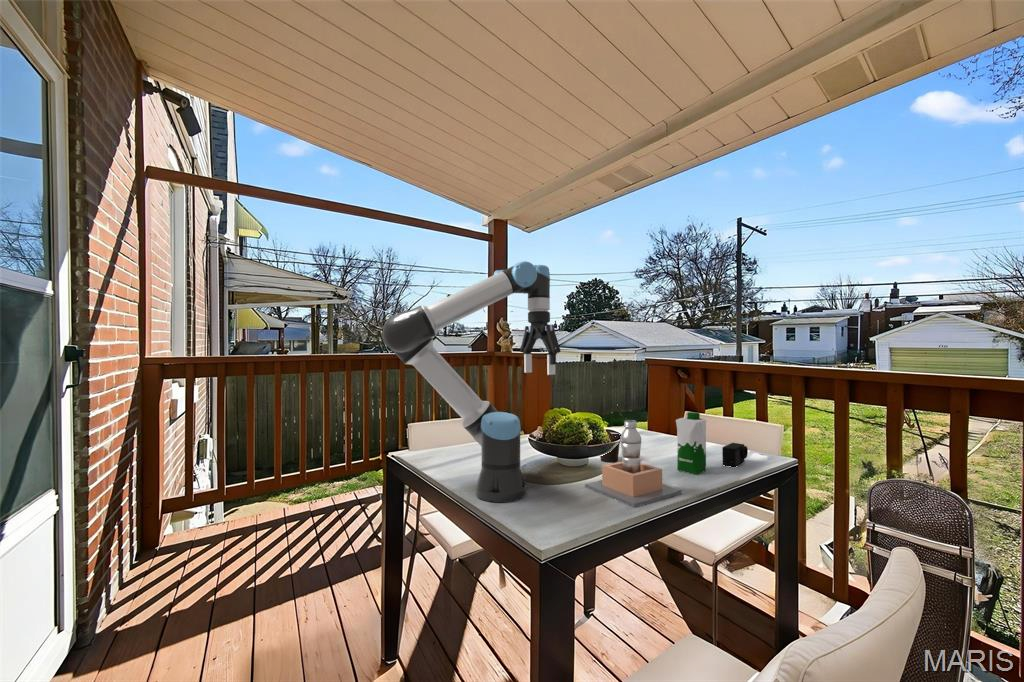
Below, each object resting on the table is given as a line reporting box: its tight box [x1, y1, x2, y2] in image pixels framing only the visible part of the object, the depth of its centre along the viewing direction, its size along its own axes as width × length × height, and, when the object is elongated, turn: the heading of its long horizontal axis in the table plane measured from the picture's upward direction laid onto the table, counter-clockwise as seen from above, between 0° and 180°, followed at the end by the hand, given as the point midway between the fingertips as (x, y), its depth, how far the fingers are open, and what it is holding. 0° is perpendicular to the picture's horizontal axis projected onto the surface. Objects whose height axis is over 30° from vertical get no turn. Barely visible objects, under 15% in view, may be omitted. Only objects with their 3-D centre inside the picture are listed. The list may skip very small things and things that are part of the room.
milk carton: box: [675, 411, 707, 475], centre depth 150 cm, size 9×9×20 cm
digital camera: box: [722, 442, 749, 468], centre depth 157 cm, size 10×5×7 cm, turn 134°
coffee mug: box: [599, 431, 621, 464], centre depth 165 cm, size 12×9×10 cm
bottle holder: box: [584, 461, 682, 508], centre depth 130 cm, size 20×20×7 cm
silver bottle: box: [620, 419, 642, 474], centre depth 130 cm, size 6×7×20 cm
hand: (539, 373), depth 145 cm, fingers open, 13 cm apart
